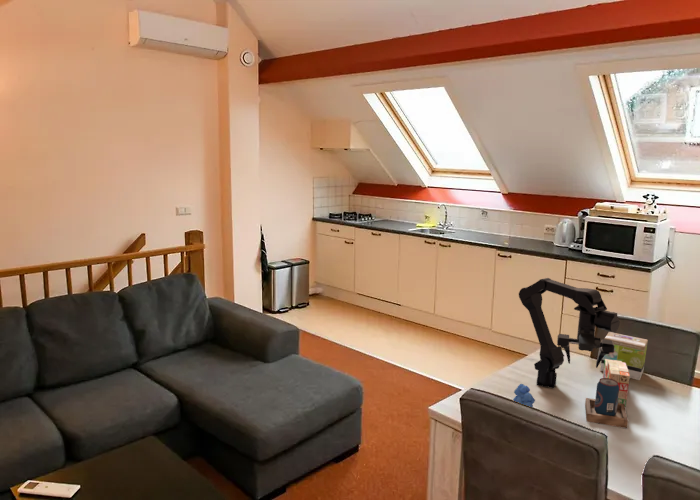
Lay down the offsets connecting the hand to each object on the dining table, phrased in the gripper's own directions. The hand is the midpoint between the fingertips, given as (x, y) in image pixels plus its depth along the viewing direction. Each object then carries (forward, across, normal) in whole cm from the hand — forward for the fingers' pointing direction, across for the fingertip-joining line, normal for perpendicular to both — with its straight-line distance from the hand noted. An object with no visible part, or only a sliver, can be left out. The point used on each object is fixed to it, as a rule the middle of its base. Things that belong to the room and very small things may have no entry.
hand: (582, 365), depth 198 cm
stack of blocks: (+13, +12, +10) cm, 21 cm away
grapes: (+13, -18, -22) cm, 31 cm away
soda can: (+12, +8, -11) cm, 18 cm away
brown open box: (+13, +8, -11) cm, 19 cm away
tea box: (+13, +17, +32) cm, 39 cm away
